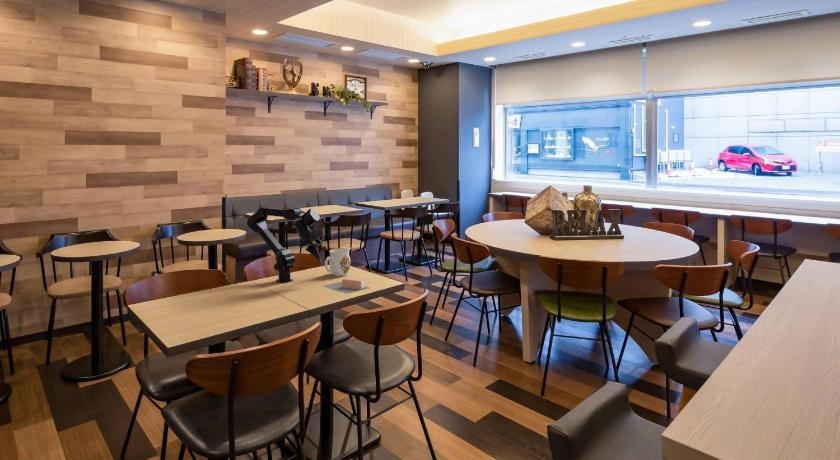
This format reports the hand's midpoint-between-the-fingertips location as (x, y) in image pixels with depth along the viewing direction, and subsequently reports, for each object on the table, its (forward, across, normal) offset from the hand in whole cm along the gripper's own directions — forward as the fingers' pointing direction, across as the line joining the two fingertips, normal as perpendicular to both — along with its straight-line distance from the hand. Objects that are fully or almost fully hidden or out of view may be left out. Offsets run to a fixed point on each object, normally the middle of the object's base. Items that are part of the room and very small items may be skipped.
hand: (319, 258), depth 244 cm
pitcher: (+9, +23, +1) cm, 25 cm away
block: (+16, 0, -5) cm, 17 cm away
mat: (+19, 0, -5) cm, 19 cm away
